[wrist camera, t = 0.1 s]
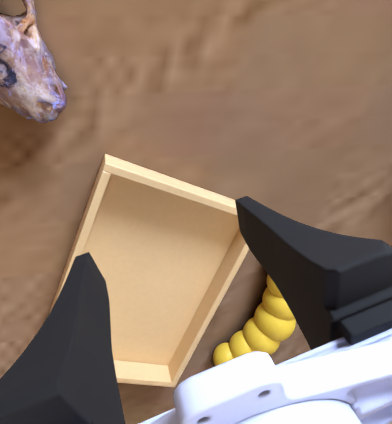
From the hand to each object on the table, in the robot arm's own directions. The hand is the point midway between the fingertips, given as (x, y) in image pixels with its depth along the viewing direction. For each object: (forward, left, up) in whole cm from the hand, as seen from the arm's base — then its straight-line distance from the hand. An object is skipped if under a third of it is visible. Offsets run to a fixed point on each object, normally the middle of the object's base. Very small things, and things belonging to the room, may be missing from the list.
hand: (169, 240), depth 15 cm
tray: (-9, -3, -11) cm, 14 cm away
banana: (-9, -16, -11) cm, 21 cm away
